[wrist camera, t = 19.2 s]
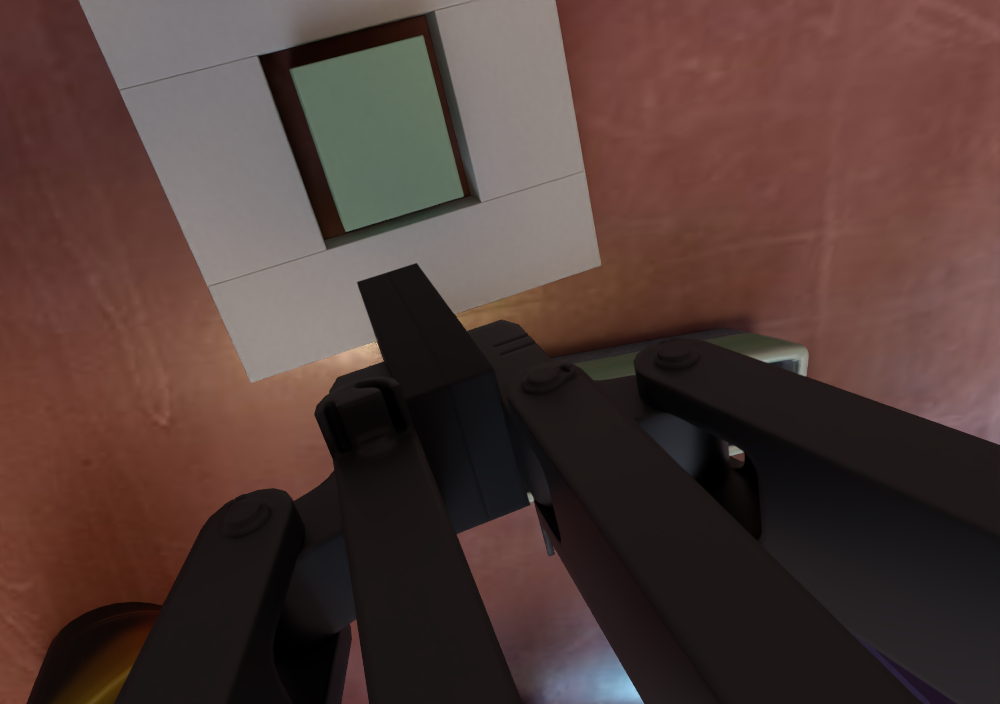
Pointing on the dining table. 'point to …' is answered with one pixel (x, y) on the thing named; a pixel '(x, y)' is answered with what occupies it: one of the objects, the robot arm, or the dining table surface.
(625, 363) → the planter
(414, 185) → the green block
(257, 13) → the base pad
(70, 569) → the dining table surface
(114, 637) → the mug
